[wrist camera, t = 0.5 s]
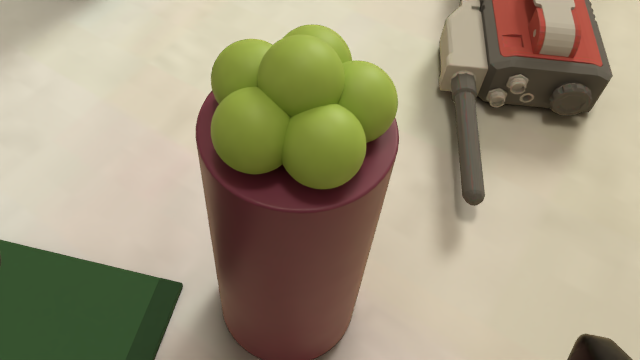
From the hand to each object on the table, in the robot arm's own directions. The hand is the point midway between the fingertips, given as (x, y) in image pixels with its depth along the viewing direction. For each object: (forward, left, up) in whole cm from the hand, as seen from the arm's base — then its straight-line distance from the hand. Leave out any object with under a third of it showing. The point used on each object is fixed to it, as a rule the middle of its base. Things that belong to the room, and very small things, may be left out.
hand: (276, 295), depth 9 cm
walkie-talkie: (+23, -8, -16) cm, 29 cm away
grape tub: (+7, +1, -16) cm, 17 cm away
